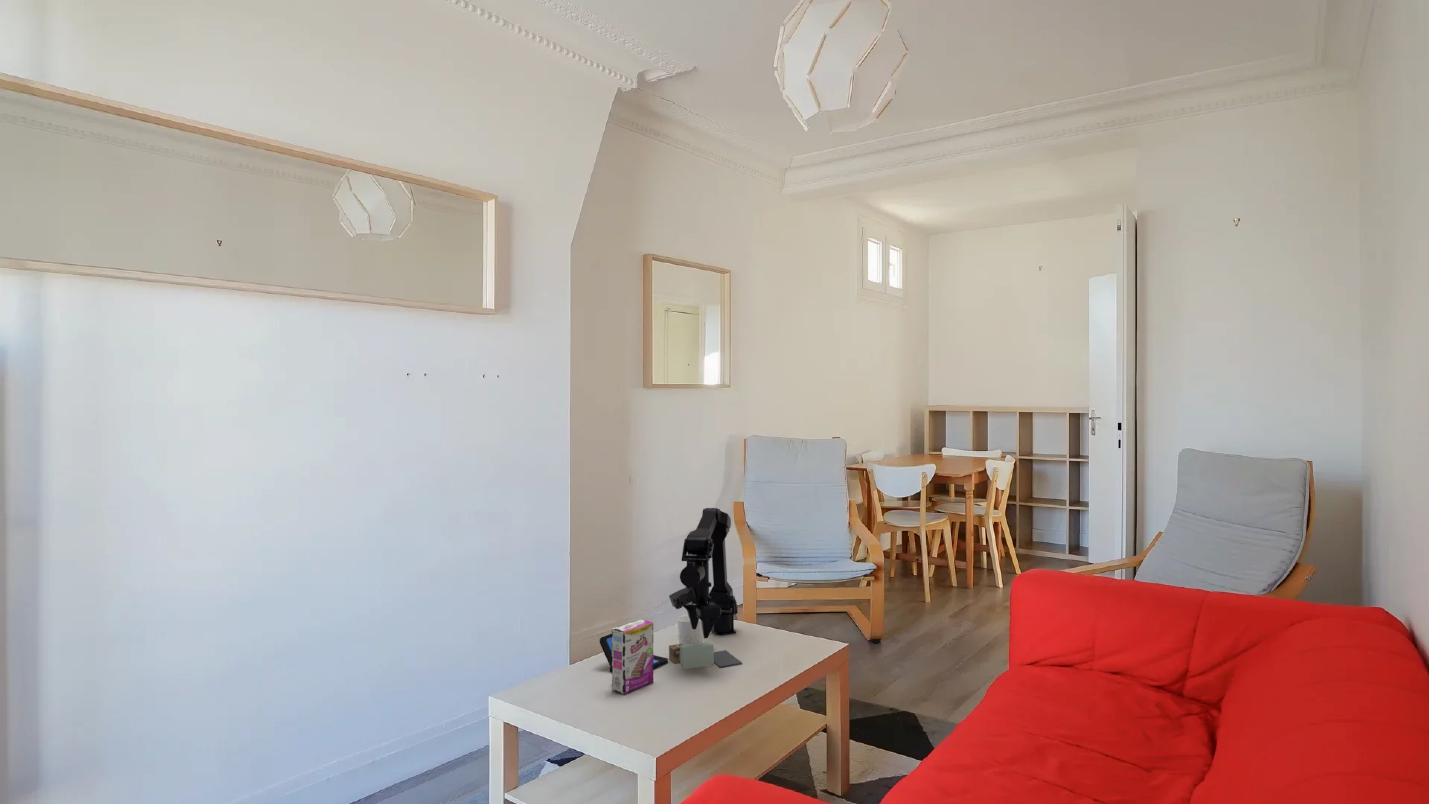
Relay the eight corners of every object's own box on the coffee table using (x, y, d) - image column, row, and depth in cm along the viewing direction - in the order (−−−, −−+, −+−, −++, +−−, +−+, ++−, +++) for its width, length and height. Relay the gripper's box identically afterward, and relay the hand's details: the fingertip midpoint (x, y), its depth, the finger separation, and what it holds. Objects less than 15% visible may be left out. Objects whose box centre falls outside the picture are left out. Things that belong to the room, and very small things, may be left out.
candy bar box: (624, 695, 195) (623, 631, 195) (611, 691, 198) (610, 628, 198) (655, 682, 204) (654, 621, 204) (641, 678, 207) (640, 618, 207)
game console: (634, 679, 207) (633, 646, 207) (598, 670, 215) (597, 638, 215) (670, 663, 219) (669, 631, 219) (634, 654, 227) (634, 624, 227)
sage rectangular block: (709, 662, 219) (709, 641, 219) (713, 665, 217) (713, 644, 217) (680, 666, 216) (680, 645, 216) (684, 670, 213) (683, 648, 213)
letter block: (682, 657, 224) (681, 642, 224) (687, 661, 220) (686, 647, 220) (669, 659, 222) (668, 644, 222) (673, 663, 218) (673, 649, 218)
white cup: (674, 649, 231) (673, 616, 231) (698, 645, 234) (697, 613, 234) (684, 657, 224) (683, 623, 224) (708, 653, 227) (708, 619, 227)
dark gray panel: (725, 651, 228) (725, 650, 228) (742, 664, 217) (742, 662, 217) (703, 655, 225) (703, 653, 225) (719, 668, 214) (719, 666, 214)
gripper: (661, 575, 222) (662, 628, 222) (683, 589, 205) (684, 647, 205) (697, 571, 227) (698, 623, 227) (721, 584, 209) (722, 641, 209)
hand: (699, 633), depth 217 cm, fingers open, 9 cm apart
